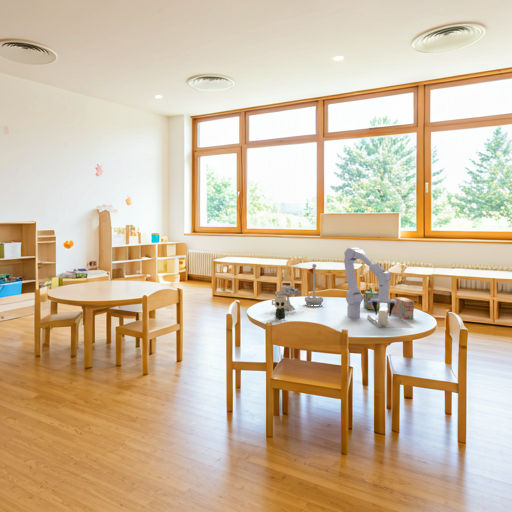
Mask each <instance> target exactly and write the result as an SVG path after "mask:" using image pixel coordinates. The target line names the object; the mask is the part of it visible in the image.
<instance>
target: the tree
mask: <svg viewBox="0 0 512 512" xmlns="http://www.w3.org/2000/svg"><path fill="white" fill-rule="evenodd" d="M274 294H275V296H283V297H286V300H289V305H286V307H285V308H284V309H286V310H285V311H289V310H290V311H293V310H295V307H294V306H293V305H292V304H291V302H290V297H293V296H294V297H295V295H301V294H302V292H301V290H299V289H298V288H295V286H293V285H285V284H283V285H281V290H278V291H274ZM286 304H288V302H286ZM292 309H293V310H292Z"/></svg>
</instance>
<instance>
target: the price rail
mask: <svg viewBox="0 0 512 512" xmlns="http://www.w3.org/2000/svg"><path fill="white" fill-rule="evenodd" d="M366 318H367V320H369V322H371V323H372V324H373V325H374V324H375V325H374V326H376V328H378V329H382V328H381V323H380V322H379V321H378V320H376V319H375V317H374V316H372V314H370V313H369V314H367V317H366Z"/></svg>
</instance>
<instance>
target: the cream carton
mask: <svg viewBox="0 0 512 512" xmlns="http://www.w3.org/2000/svg"><path fill="white" fill-rule="evenodd" d="M377 315H378V317H377V318H378V321H379V322H380V323H381V325H386V326H387V322H388V318H389V313H388V308H387V307H383V306H382V307H380V309H379V310H378V314H377Z"/></svg>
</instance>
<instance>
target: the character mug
mask: <svg viewBox="0 0 512 512" xmlns="http://www.w3.org/2000/svg"><path fill="white" fill-rule="evenodd" d="M289 301H290V299H289V300H287V296H278V295H276V296H275V297H274V299H272V300H271V305H272V306H274V307H275V308H276V309H275V314H274V315H275V316H274V317H275V318H278V319H279V318H280V319H284V318H286V310H285V309H284V308H285V307H286V305H289ZM286 302H288V304H286Z"/></svg>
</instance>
